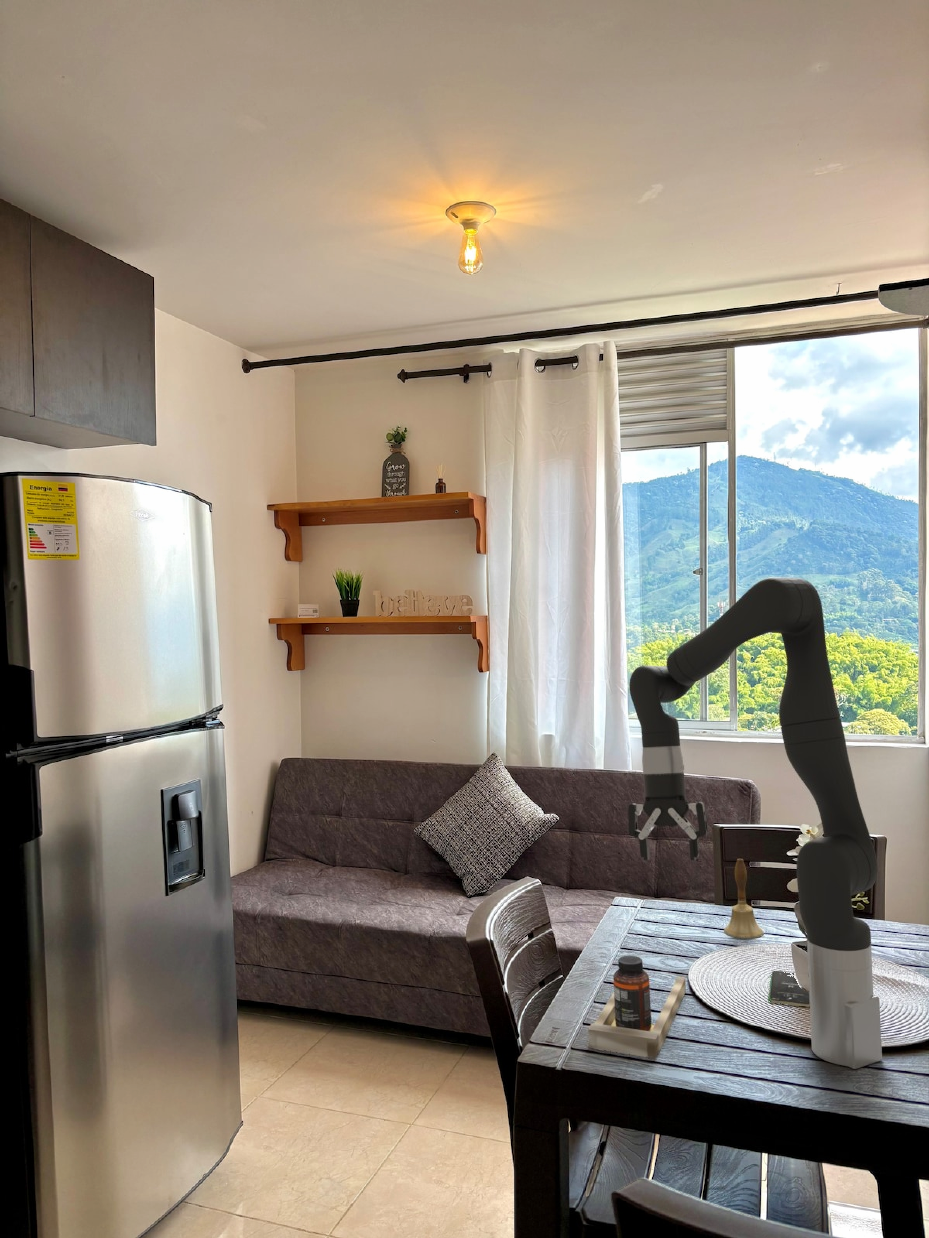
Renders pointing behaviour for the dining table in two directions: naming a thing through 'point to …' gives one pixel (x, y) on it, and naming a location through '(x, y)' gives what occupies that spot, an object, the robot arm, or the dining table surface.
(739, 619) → the robot arm
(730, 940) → the dining table surface
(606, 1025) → the open wooden tray frame
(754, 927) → the hand bell
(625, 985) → the supplement bottle
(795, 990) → the small black book
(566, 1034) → the dining table surface
